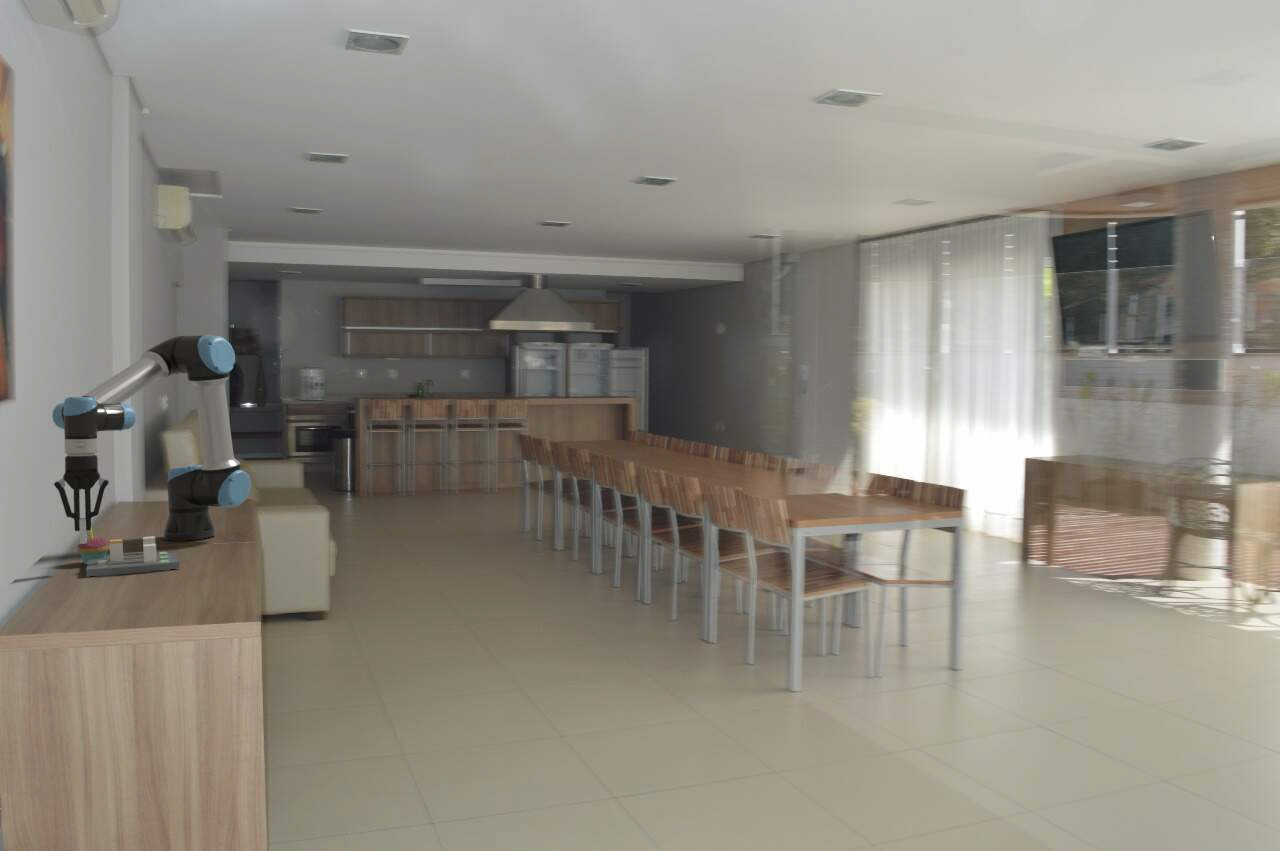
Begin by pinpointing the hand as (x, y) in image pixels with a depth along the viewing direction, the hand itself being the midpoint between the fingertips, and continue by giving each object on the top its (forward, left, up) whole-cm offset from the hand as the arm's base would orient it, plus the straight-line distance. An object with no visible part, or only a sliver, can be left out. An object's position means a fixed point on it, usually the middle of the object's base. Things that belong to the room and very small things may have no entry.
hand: (83, 542), depth 262 cm
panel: (0, +12, -8) cm, 14 cm away
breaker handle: (0, +8, -6) cm, 10 cm away
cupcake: (-12, +2, -8) cm, 15 cm away
